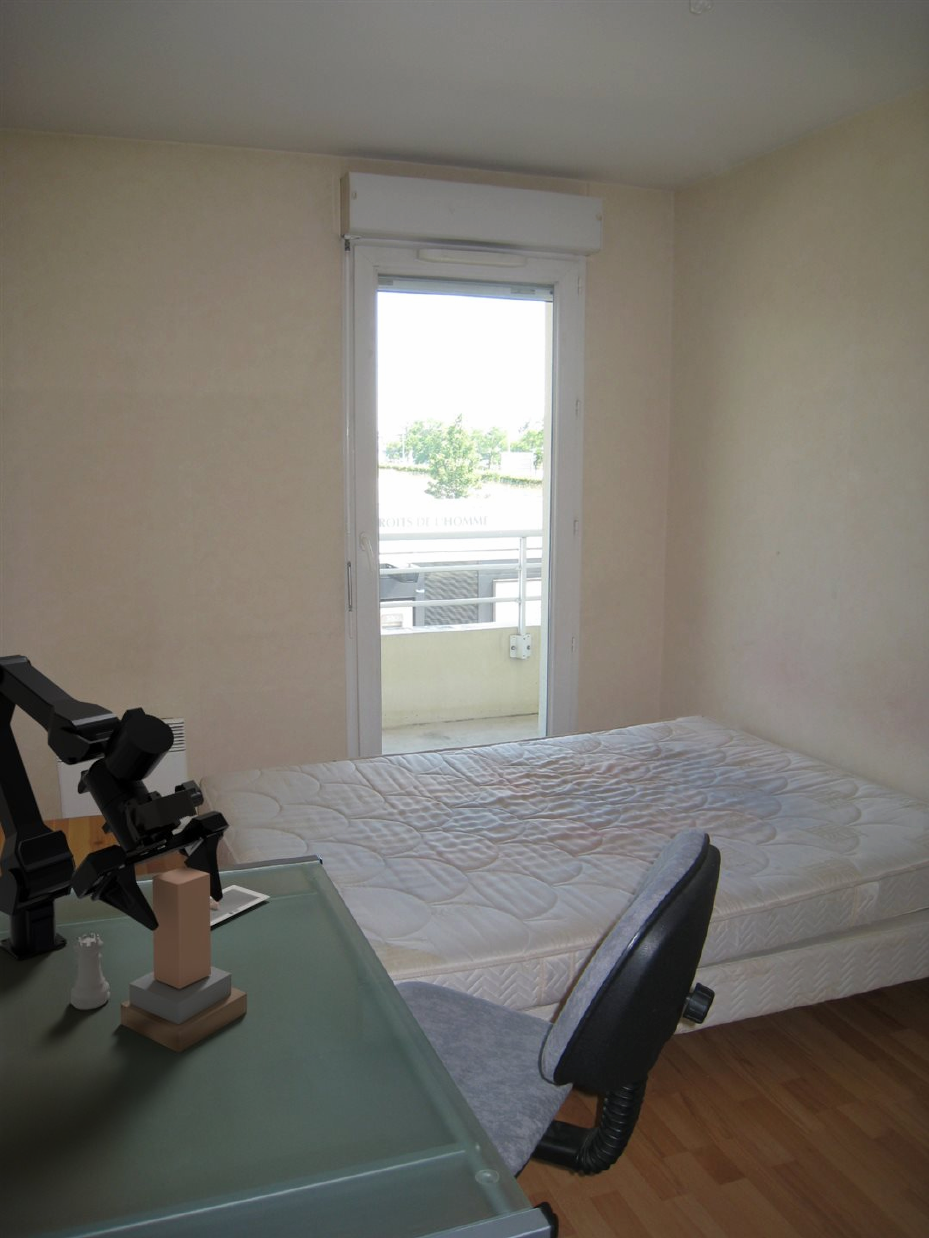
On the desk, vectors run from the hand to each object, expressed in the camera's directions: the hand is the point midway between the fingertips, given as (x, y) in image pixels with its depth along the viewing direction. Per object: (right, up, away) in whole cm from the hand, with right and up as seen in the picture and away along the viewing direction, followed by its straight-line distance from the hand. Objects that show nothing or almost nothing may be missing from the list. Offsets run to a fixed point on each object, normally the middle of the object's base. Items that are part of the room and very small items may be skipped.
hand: (189, 913), depth 106 cm
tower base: (-1, -13, +2) cm, 14 cm away
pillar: (-1, -8, +2) cm, 8 cm away
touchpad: (-5, -10, +30) cm, 32 cm away
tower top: (-1, -10, +2) cm, 11 cm away
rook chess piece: (-13, -12, +5) cm, 19 cm away
